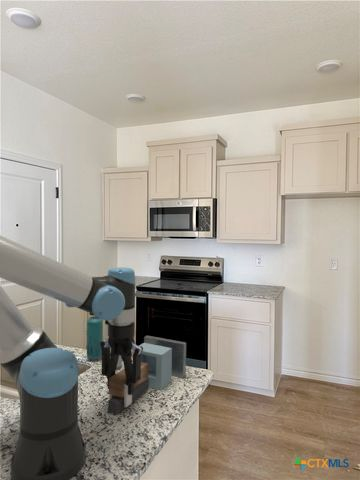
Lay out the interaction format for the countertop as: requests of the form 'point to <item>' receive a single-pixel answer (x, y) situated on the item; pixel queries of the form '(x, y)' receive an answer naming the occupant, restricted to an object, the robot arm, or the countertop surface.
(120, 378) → the brown block
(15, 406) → the countertop surface
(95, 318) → the teal cylinder
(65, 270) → the robot arm
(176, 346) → the wall
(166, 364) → the socket block
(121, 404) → the rail
